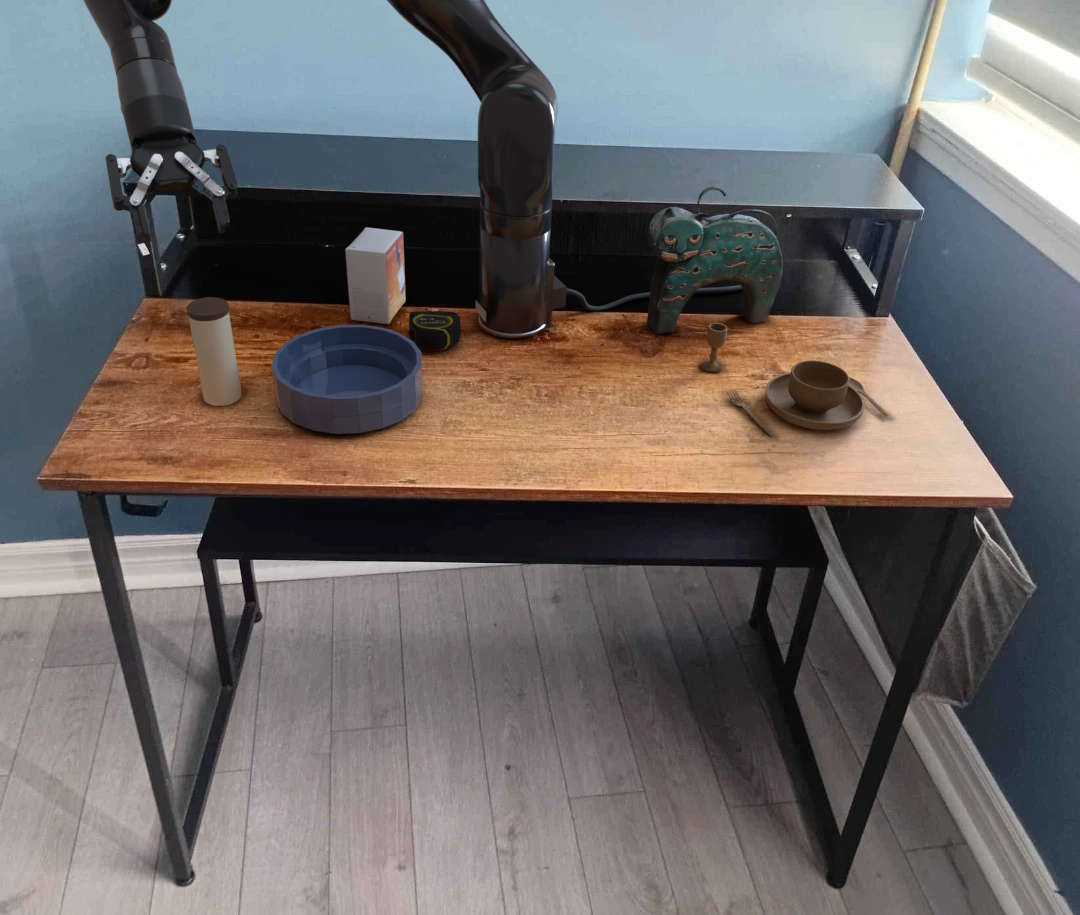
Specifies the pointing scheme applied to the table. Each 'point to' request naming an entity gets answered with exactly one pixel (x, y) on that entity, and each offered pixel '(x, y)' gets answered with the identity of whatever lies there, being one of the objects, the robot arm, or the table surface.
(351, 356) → the bowl
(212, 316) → the tube
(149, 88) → the robot arm
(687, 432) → the table surface
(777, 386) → the place setting
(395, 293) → the small box
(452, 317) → the tape measure
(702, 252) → the ceramic cat
